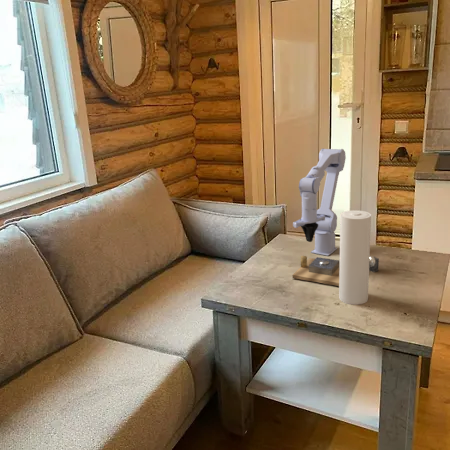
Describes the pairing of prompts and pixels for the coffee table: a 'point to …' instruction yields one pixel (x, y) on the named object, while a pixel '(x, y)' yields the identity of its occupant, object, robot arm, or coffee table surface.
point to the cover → (324, 266)
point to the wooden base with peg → (315, 277)
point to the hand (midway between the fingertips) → (309, 241)
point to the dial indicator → (373, 264)
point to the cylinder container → (354, 256)
